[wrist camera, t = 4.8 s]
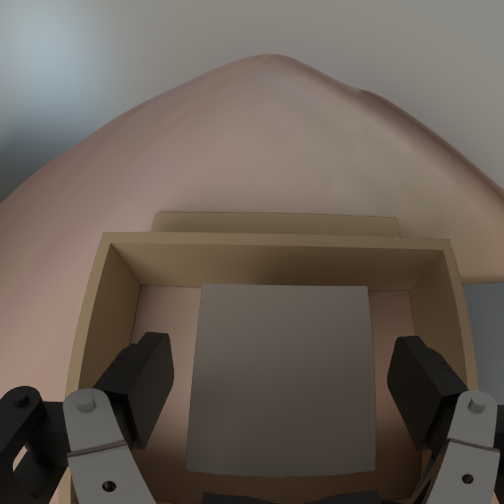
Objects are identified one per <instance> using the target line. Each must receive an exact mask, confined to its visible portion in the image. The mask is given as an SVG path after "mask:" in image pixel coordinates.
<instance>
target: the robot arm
mask: <svg viewBox="0 0 504 504" xmlns="http://www.w3.org/2000/svg"><path fill="white" fill-rule="evenodd" d="M173 381H174V367H173V360H172V352H171V344H170V338H169V335H168V334H167V333H157V332H146V333H145V334H144V336H143V337H142V338H141V340H140V341H139V342H138V344H133V343H132V344H131V345H129V346H127V347H126V348H124V349H122V350H121V351H120V353H119V354H118V355H117V356H116V358H115V360H113V362H112V363H111V364H110V367H108V368H107V369H106V370H105V372H104V373H103V374H102V376H101V377H100V378H99V380H98V381H97V382H96V383H95V385H94V386H93V387H92V388H84V389H79V390H76V391H74V392H72V393H71V394H69V395H68V396H67V397H66V398H65V400H64V402H47V401H43V400H42V398H41V396H40V393H39V392H38V390H37V389H35V388H33V387H30V386H20V387H16V388H13V389H11V390H10V391H8V392H7V393H6V394H5V395H4V396H3V397H2V398H1V399H0V504H49V502H50V500H51V498H52V496H53V494H54V492H55V490H56V488H57V486H58V484H59V482H60V481H61V479H62V477H63V475H64V473H65V471H66V469H67V467H69V468H70V472H71V476H72V480H73V484H74V487H75V491H76V495H77V498H78V501H79V504H156V502H155V500H154V499H153V497H152V495H151V493H150V491H149V489H148V487H147V485H146V483H145V481H144V479H143V477H142V475H141V473H140V471H139V469H138V467H137V465H136V463H135V461H134V459H133V456H132V454H131V452H130V451H131V449H132V448H136V449H140V450H144V449H145V447H146V445H147V442H148V440H149V438H150V436H151V433H152V431H153V429H154V426H155V424H156V422H157V420H158V417H159V415H160V413H161V411H162V408H163V406H164V404H165V402H166V399H167V397H168V395H169V393H170V390H171V388H172V385H173ZM387 383H388V388H389V391H390V393H391V395H392V397H393V399H394V401H395V403H396V405H397V408H398V410H399V412H400V414H401V416H402V418H403V420H404V423H405V425H406V427H407V429H408V431H409V434H410V436H411V438H412V440H413V443H414V445H415V447H416V449H417V451H422V450H426V449H431V451H432V453H431V455H430V457H429V459H428V461H427V463H426V466H425V468H424V471H423V473H422V475H421V477H420V480H419V482H418V484H417V486H416V488H415V490H414V492H413V495H412V497H411V498H410V500H409V502H408V504H491V500H492V496H493V491H494V492H495V494H496V497H497V499H498V501H499V504H504V405H497V403H496V401H495V400H494V399H493V398H492V397H491V396H490V395H489V394H487V393H485V392H482V391H478V390H469V389H468V388H467V386H466V385H465V384H464V383H463V381H462V380H461V379H460V377H459V376H458V375H457V374H456V372H455V371H454V370H452V367H451V366H450V365H449V364H447V361H446V360H445V359H444V358H443V356H442V355H441V354H440V353H438V352H436V351H435V350H433V349H432V348H428V347H427V346H426V344H425V343H424V342H423V341H422V339H421V338H420V337H419V336H405V337H398V338H397V340H396V342H395V346H394V350H393V355H392V359H391V363H390V367H389V371H388V376H387ZM23 446H25V448H26V449H27V452H26V453H25V455H24V456H23V458H22V459H21V461H20V463H19V464H18V466H17V467H16V469H15V470H14V472H13V462H14V459H15V458H16V456H17V455H18V453H19V452H20V450H21V449H22V448H23ZM201 504H279V503H274V502H269V501H264V500H260V499H256V498H252V497H246V496H231V495H220V494H210V493H204V496H203V501H202V503H201ZM306 504H404V503H400V502H395V501H389V500H381V498H380V495H379V491H378V489H377V490H370V491H364V492H356V493H348V494H339V495H335V496H332V497H328V498H325V499H321V500H317V501H314V502H310V503H306Z"/></svg>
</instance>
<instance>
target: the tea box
mask: <svg viewBox="0 0 504 504" xmlns="http://www.w3.org/2000/svg"><path fill="white" fill-rule="evenodd" d="M375 463H376V391H375V369H374V352H373V339H372V327H371V316H370V307H369V298H368V289H367V286H290V285H245V284H213V283H203V285H202V293H201V301H200V310H199V318H198V327H197V337H196V346H195V356H194V366H193V377H192V388H191V399H190V412H189V425H188V439H187V454H186V471H194V472H201V473H210V474H220V475H232V476H248V477H313V476H329V475H341V474H351V473H359V472H367V471H374V470H375Z"/></svg>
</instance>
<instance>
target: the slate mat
mask: <svg viewBox="0 0 504 504" xmlns="http://www.w3.org/2000/svg"><path fill="white" fill-rule="evenodd" d="M462 287H463V292H464V296H465V301H466V306H467V311H468V316H469V321H470V327H471V333H472V339H473V346H474V353H475V360H476V369H477V379H478V391H482V392H485V393H487V394H489V395H490V396H491V397H492V398H493V399H494V400H495V401H496V403H497V405H504V283H490V284H462Z"/></svg>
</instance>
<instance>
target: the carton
mask: <svg viewBox="0 0 504 504" xmlns="http://www.w3.org/2000/svg"><path fill="white" fill-rule="evenodd" d="M203 283H213V284H245V285H290V286H367V289H368V290H409V294H410V300H411V306H412V313H413V320H414V327H415V335H416V336H419V337H420V338H421V339H422V341H423V342H424V343H425V344H426V346H427V347H428V348H432V349H433V350H435V351H436V352H438V353H440V354H441V355H442V356H443V358H444V359H445V360H446V361H447V364H449V365H450V366H451V367H452V370H454V371H455V372H456V374H457V375H458V376H459V377H460V379H461V380H462V381H463V383H464V384H465V385H466V386H467V388H468V389H469V390H478V379H477V369H476V360H475V353H474V346H473V339H472V333H471V327H470V321H469V316H468V311H467V306H466V301H465V296H464V292H463V287H462V283H461V279H460V275H459V271H458V267H457V264H456V260H455V256H454V253H453V249H452V246H451V242H450V240H449V239H427V238H403V237H400V234H399V230H398V226H397V222H396V218H389V217H370V216H348V215H322V214H289V213H226V212H180V213H156V215H155V219H154V223H153V226H152V230H151V232H103V235H102V238H101V241H100V244H99V247H98V250H97V253H96V257H95V260H94V263H93V267H92V270H91V274H90V277H89V281H88V285H87V288H86V292H85V296H84V300H83V304H82V308H81V312H80V317H79V321H78V325H77V330H76V335H75V340H74V345H73V350H72V355H71V361H70V367H69V373H68V379H67V386H66V393H65V398H66V397H67V396H68V395H69V394H71V393H72V392H74V391H76V390H79V389H84V388H92V387H93V386H94V385H95V383H96V382H97V381H98V380H99V378H100V377H101V376H102V374H103V373H104V372H105V370H106V369H107V368H108V367H110V364H111V363H112V362H113V360H115V358H116V356H117V355H118V354H119V353H120V351H121V350H122V349H124V348H126V347H127V346H129V345H130V341H131V335H132V329H133V323H134V318H135V312H136V307H137V302H138V297H139V292H140V287H141V285H157V286H177V287H199V288H202V285H203ZM431 453H432V451H431V449H426V450H422V457H421V475H422V473H423V471H424V468H425V466H426V463H427V461H428V459H429V457H430V455H431ZM410 498H411V497H408V498H404V499H400V500H395V502H400V503H404V504H408V502H409V500H410ZM155 502H156V504H174V503H168V502H163V501H158V500H155ZM59 504H79V501H78V498H77V495H76V491H75V487H74V484H73V480H72V476H71V472H70V468H69V467H67V469H66V471H65V473H64V475H63V477H62V479H61V481H60V482H59Z"/></svg>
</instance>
